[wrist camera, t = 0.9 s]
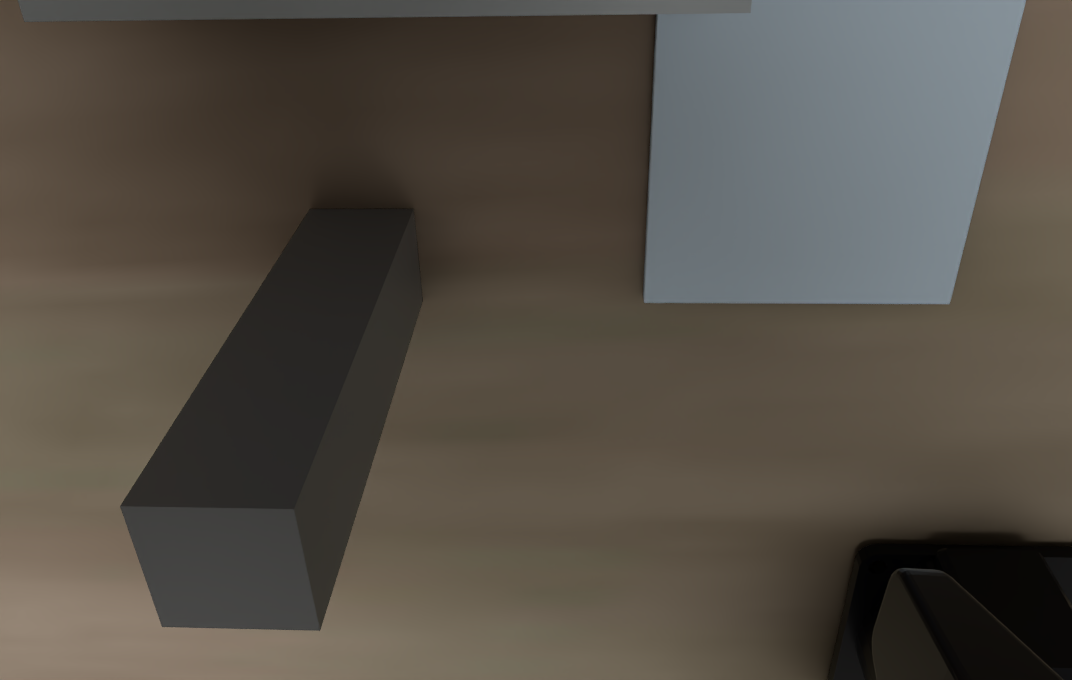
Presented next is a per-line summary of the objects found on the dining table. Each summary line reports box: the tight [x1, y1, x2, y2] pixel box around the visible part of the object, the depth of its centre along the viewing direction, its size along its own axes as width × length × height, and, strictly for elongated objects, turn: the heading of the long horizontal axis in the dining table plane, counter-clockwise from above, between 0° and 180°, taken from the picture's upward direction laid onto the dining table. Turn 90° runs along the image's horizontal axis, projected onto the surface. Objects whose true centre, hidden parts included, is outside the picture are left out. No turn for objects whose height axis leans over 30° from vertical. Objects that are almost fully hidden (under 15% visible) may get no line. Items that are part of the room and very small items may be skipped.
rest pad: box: [643, 0, 1026, 304], centre depth 19 cm, size 7×7×1 cm
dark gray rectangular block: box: [120, 209, 423, 631], centre depth 17 cm, size 2×2×10 cm
